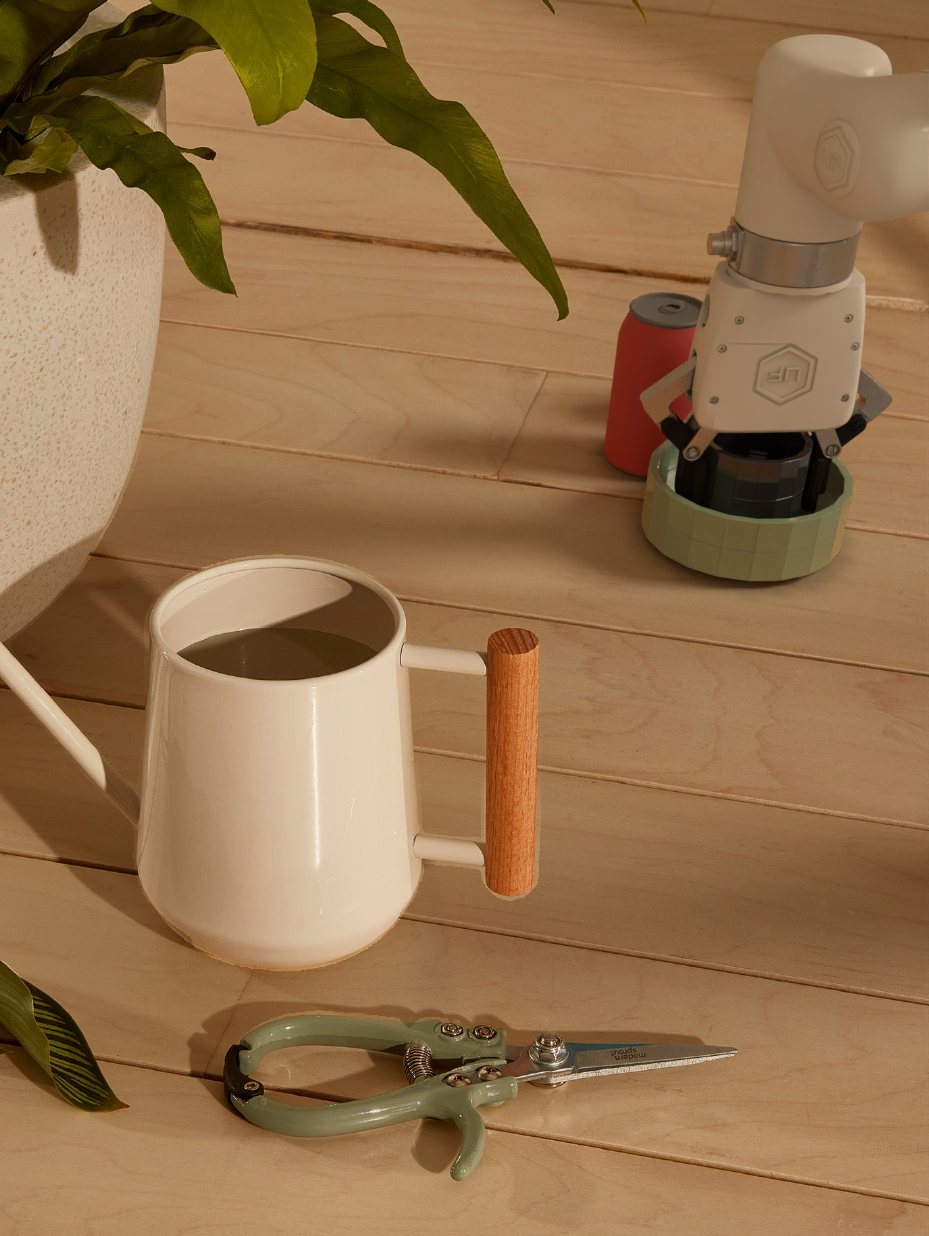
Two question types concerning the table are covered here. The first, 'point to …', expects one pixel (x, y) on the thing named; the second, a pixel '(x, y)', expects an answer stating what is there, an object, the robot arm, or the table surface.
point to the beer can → (647, 374)
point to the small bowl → (757, 474)
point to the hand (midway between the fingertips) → (746, 501)
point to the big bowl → (743, 528)
